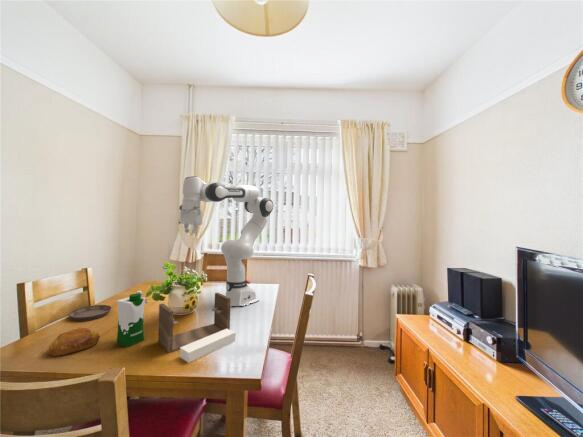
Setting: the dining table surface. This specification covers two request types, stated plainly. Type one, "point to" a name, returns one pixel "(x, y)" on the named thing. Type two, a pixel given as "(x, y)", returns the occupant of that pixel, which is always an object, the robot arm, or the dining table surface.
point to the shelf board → (206, 345)
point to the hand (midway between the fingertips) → (190, 233)
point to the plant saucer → (90, 312)
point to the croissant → (73, 341)
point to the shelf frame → (182, 339)
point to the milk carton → (130, 320)
